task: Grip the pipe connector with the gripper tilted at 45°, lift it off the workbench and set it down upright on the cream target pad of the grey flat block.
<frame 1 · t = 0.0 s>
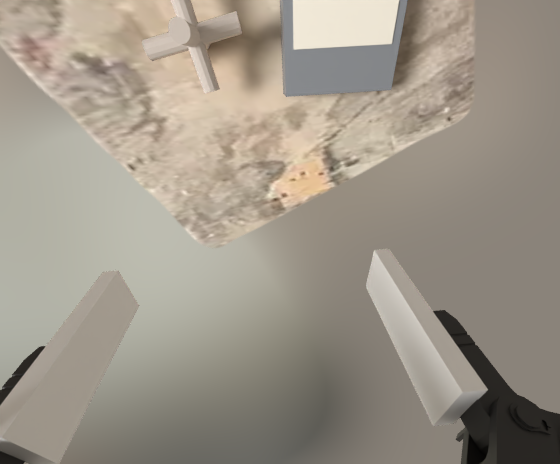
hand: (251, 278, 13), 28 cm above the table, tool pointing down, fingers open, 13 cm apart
pipe connector: (202, 41, 29), on the table
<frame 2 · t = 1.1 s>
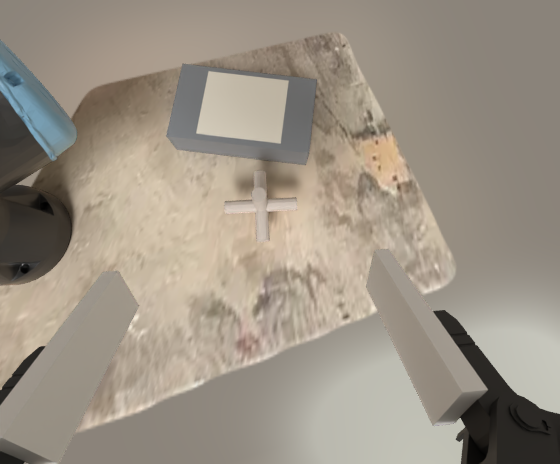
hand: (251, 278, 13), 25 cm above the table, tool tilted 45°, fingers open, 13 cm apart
pipe connector: (263, 215, 39), on the table
grey flat block: (246, 122, 42), on the table
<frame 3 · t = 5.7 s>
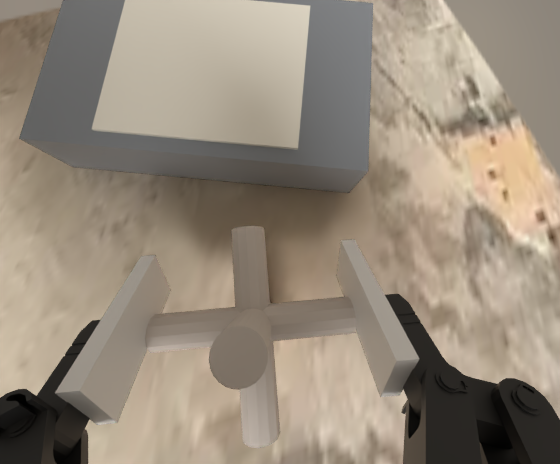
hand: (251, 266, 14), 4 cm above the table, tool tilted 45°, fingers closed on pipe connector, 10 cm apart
pipe connector: (260, 310, 17), on the table, touching gripper
grey flat block: (221, 107, 20), on the table
when the fingers open (10 cm above the table, at t = 11.2 s): pipe connector drops 1 cm, resting on grey flat block.
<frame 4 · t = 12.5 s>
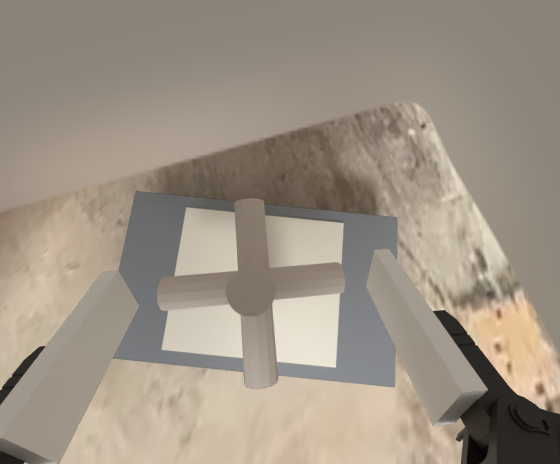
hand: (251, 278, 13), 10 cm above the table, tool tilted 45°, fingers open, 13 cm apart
pipe connector: (256, 283, 19), point 4 cm above the table, touching grey flat block
grey flat block: (260, 281, 23), on the table
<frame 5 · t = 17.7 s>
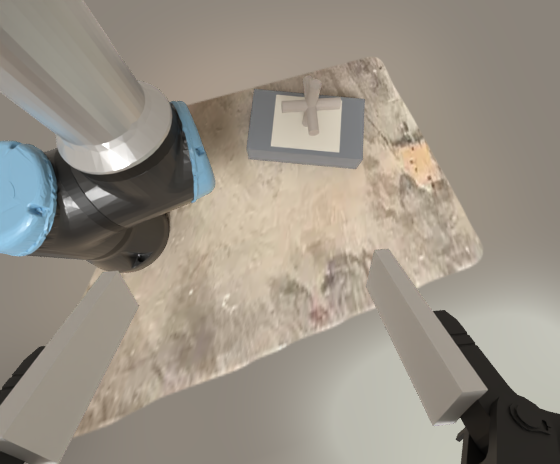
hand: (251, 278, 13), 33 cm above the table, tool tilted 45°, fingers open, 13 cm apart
pipe connector: (306, 123, 46), point 4 cm above the table, touching grey flat block
grey flat block: (304, 135, 50), on the table
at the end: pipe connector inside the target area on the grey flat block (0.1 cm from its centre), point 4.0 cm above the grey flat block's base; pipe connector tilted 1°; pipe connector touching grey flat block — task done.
